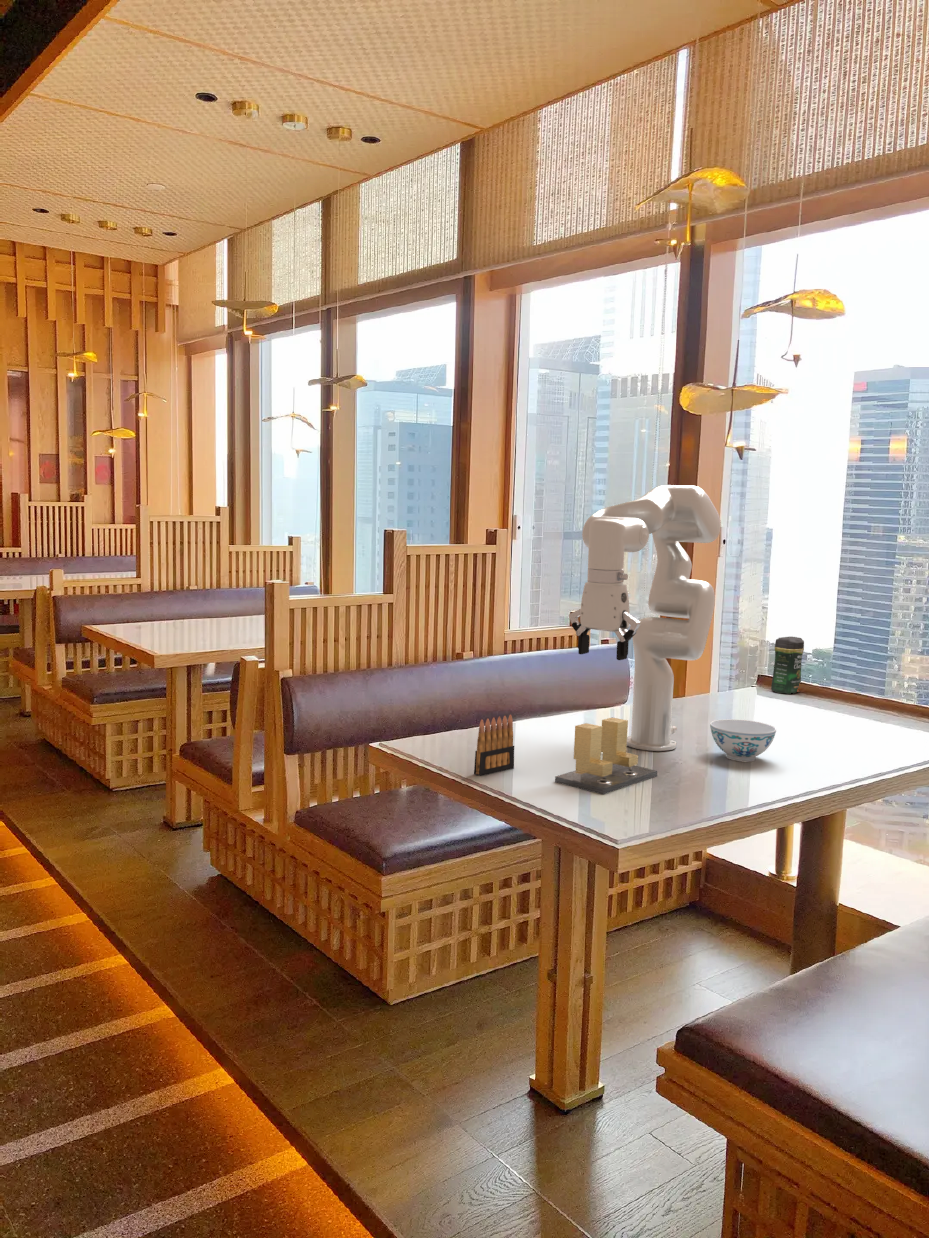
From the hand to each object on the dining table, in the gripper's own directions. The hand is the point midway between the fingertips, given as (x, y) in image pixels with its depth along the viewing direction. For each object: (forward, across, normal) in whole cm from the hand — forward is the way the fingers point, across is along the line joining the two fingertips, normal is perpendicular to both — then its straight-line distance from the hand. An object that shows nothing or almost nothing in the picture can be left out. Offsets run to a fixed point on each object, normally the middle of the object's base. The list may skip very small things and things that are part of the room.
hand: (602, 656), depth 212 cm
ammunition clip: (+25, +15, +17) cm, 34 cm away
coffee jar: (+31, +14, -134) cm, 139 cm away
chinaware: (+27, -16, -36) cm, 48 cm away
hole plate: (+25, -5, +4) cm, 26 cm away
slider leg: (+24, -5, 0) cm, 24 cm away
